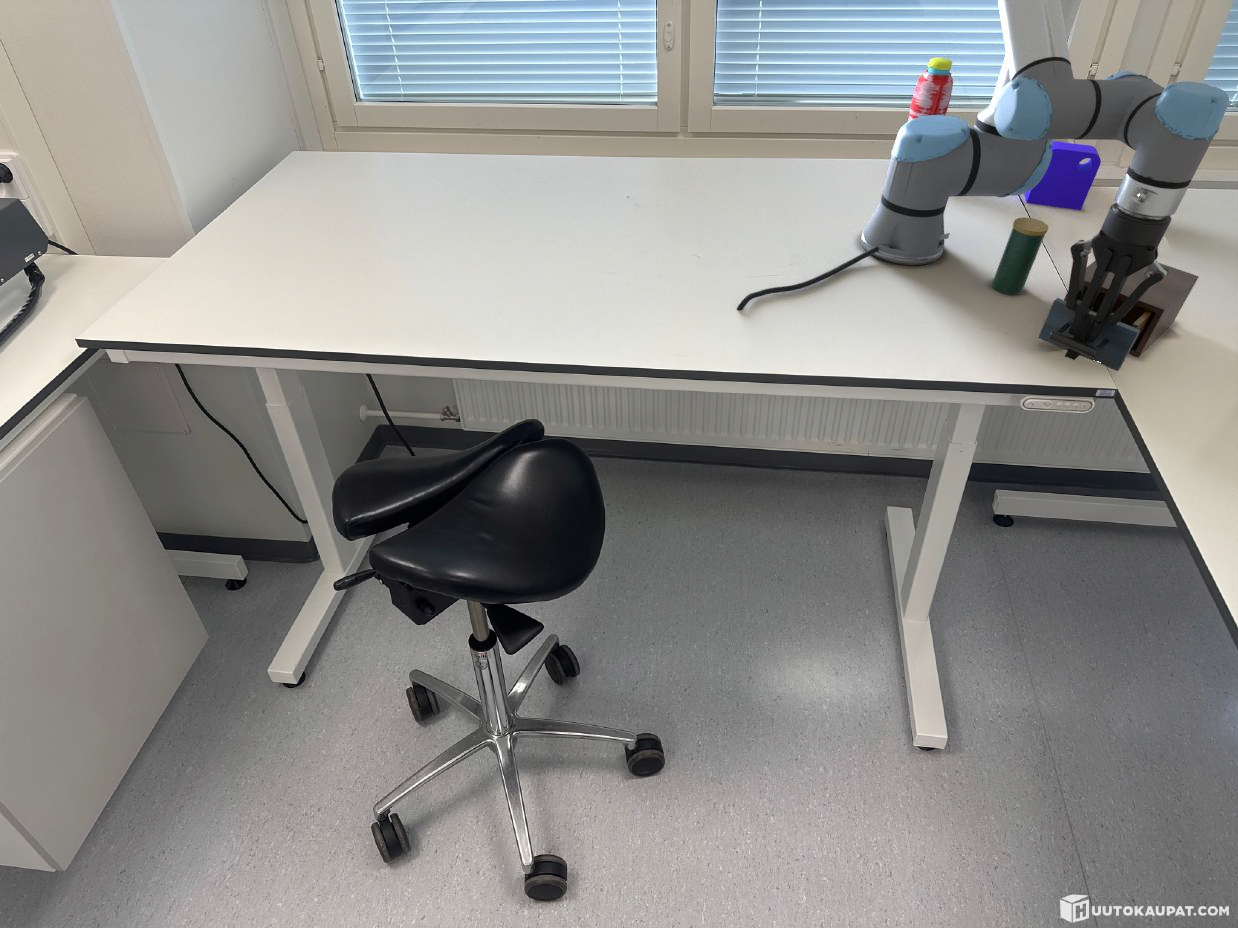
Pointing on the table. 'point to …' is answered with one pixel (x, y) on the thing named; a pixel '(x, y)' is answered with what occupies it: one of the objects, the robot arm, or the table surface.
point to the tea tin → (1019, 255)
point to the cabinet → (1152, 299)
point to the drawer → (1111, 339)
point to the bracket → (1066, 177)
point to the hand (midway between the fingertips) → (1073, 354)
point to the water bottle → (932, 90)
